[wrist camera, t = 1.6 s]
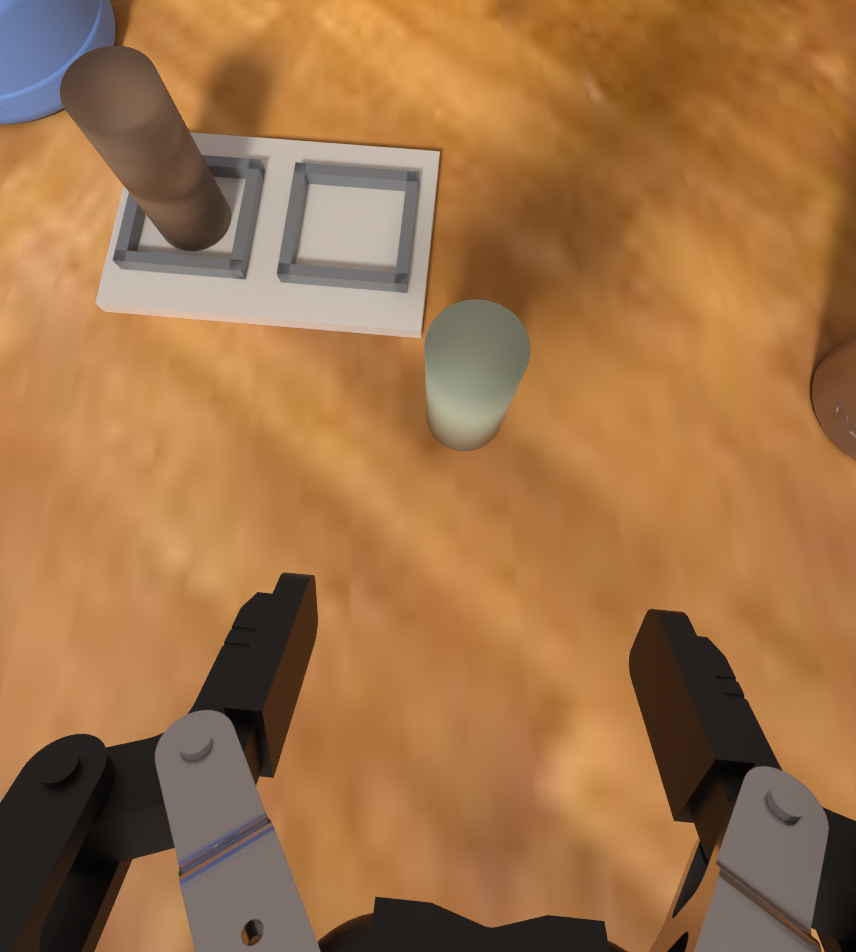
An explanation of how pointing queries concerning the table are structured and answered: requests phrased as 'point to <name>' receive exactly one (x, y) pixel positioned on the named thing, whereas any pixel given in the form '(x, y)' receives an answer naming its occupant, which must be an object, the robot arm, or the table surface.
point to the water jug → (45, 51)
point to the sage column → (472, 371)
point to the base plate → (290, 241)
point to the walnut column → (146, 144)
